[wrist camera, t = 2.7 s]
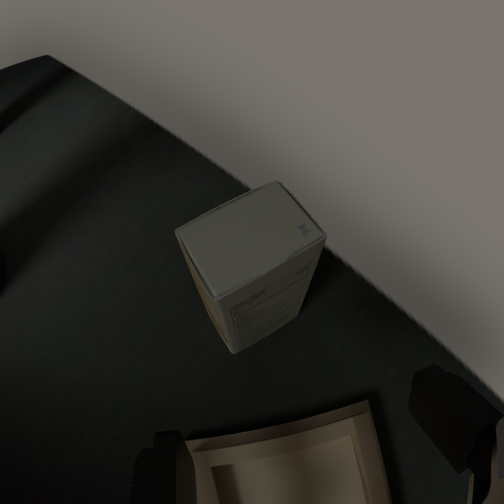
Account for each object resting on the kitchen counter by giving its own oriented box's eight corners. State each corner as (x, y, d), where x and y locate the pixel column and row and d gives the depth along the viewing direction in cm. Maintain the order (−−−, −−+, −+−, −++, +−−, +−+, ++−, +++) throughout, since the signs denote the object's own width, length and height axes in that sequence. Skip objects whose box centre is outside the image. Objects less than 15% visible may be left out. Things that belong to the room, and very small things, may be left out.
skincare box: (269, 275, 27) (282, 173, 16) (299, 317, 25) (335, 232, 15) (202, 313, 25) (169, 226, 15) (229, 358, 24) (213, 301, 13)
